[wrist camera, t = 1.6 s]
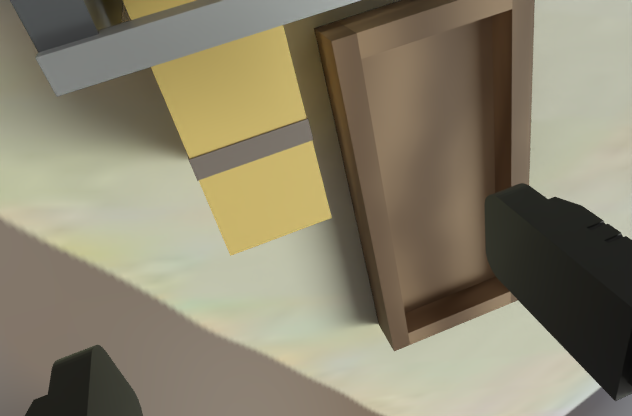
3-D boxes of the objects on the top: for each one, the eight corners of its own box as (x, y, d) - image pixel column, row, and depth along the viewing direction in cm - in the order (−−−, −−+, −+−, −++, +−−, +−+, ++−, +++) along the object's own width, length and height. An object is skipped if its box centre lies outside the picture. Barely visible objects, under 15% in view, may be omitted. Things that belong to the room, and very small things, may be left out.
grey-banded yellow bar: (169, -251, 15) (192, -341, 9) (281, 135, 22) (333, 218, 17) (48, -223, 14) (-6, -298, 9) (204, 161, 22) (229, 256, 16)
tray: (501, -32, 21) (535, -26, 20) (503, 274, 32) (525, 296, 30) (314, 28, 20) (331, 41, 19) (378, 324, 31) (394, 351, 29)
